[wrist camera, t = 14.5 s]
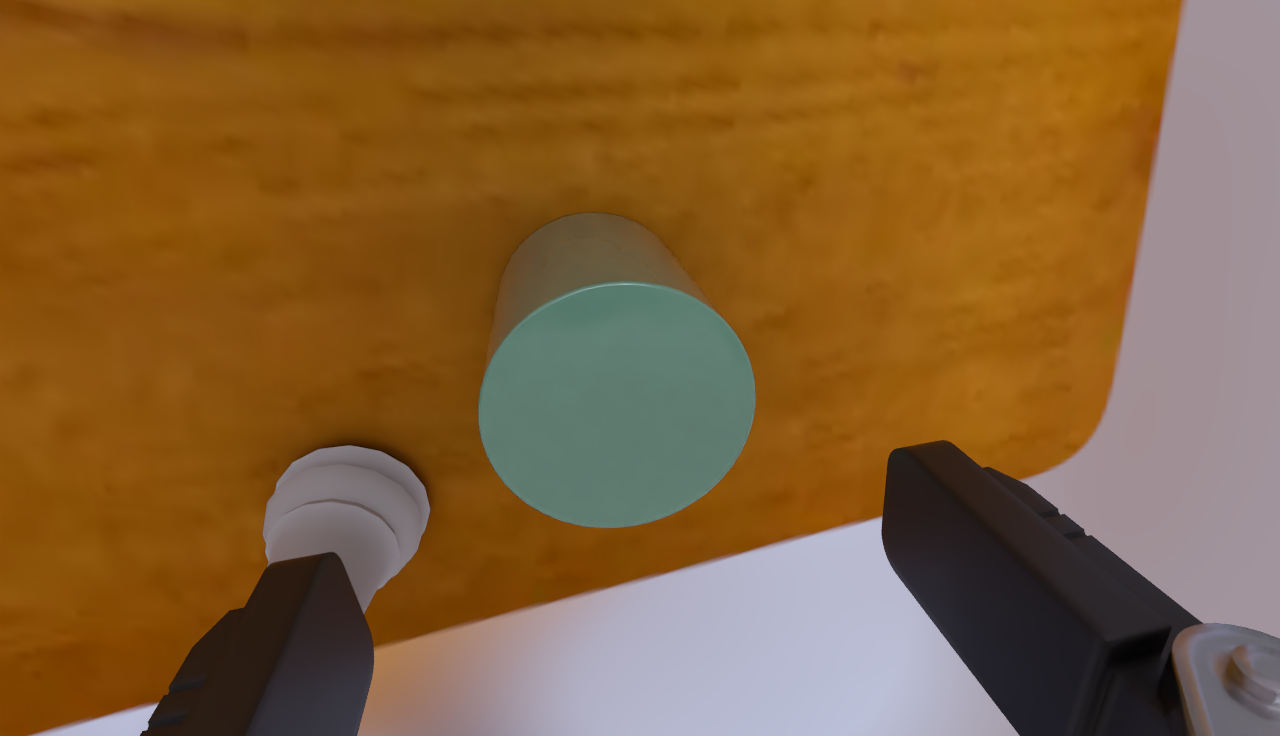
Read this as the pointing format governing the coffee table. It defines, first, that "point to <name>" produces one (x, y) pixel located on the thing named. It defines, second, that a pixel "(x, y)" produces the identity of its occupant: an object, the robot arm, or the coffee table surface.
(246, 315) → the coffee table surface
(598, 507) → the mint green cylinder
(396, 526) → the rook chess piece
